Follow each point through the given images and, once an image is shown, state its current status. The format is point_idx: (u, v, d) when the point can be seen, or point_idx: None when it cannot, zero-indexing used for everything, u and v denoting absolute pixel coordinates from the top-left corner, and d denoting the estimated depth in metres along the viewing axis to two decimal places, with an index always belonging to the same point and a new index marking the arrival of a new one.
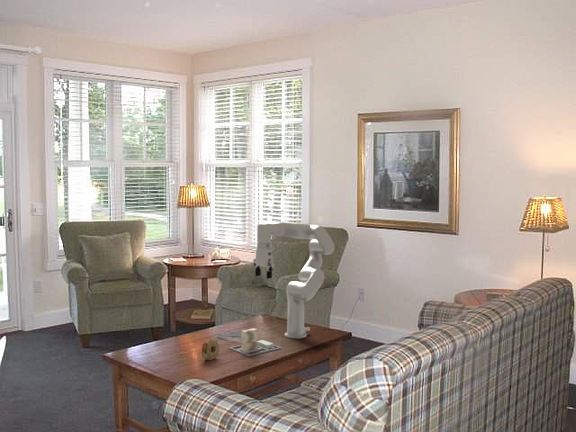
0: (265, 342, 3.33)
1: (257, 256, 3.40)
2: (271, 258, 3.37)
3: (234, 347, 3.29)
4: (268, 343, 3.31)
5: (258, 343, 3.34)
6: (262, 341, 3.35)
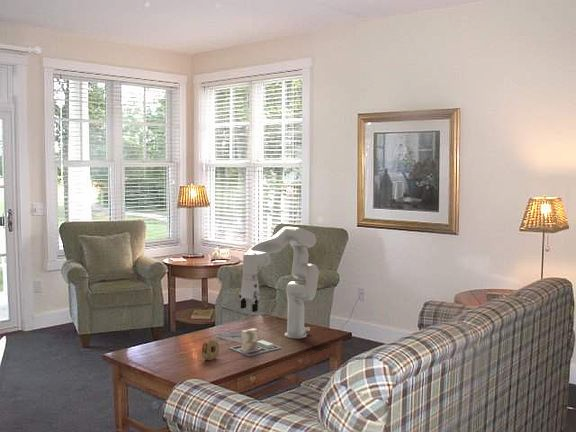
0: (265, 342, 3.33)
1: (242, 288, 3.24)
2: (257, 290, 3.20)
3: (234, 347, 3.29)
4: (269, 343, 3.31)
5: (258, 343, 3.34)
6: (262, 341, 3.35)
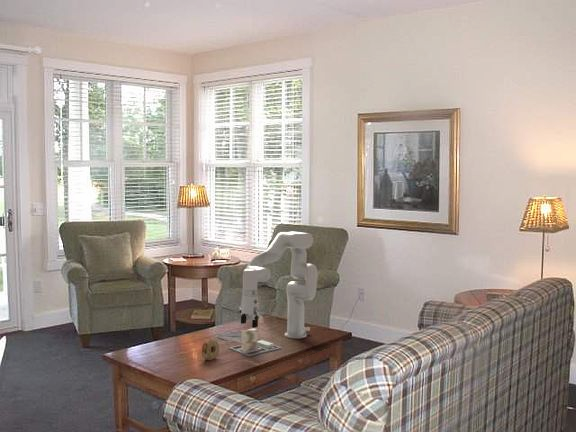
0: (265, 342, 3.33)
1: (243, 303, 3.25)
2: (257, 306, 3.21)
3: (234, 347, 3.29)
4: (268, 343, 3.31)
5: (258, 343, 3.34)
6: (262, 341, 3.35)
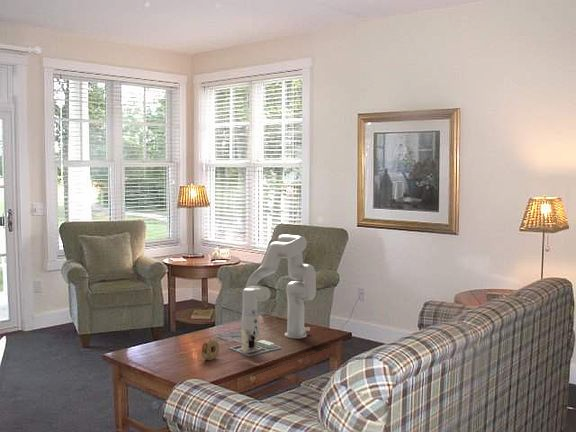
0: (266, 342, 3.34)
1: (243, 323, 3.26)
2: (257, 325, 3.22)
3: (234, 347, 3.29)
4: (269, 343, 3.32)
5: (259, 343, 3.34)
6: (263, 341, 3.35)
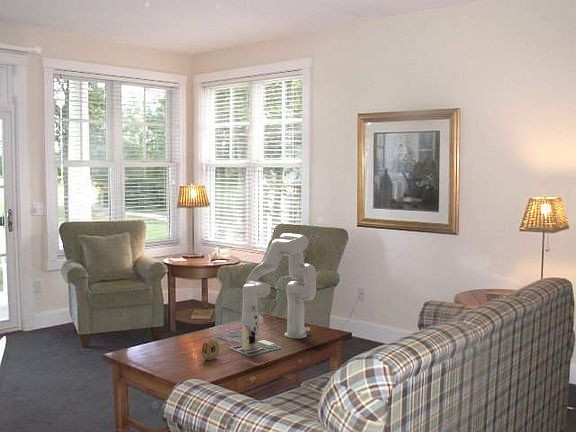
0: (266, 342, 3.33)
1: (243, 319, 3.26)
2: (257, 321, 3.22)
3: (234, 347, 3.29)
4: (270, 343, 3.31)
5: (259, 343, 3.34)
6: (264, 341, 3.35)
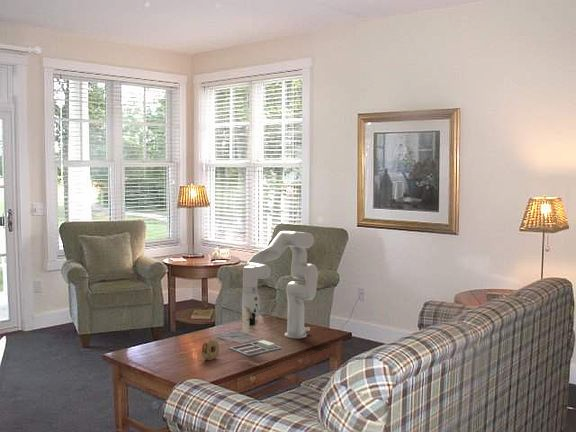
0: (266, 342, 3.34)
1: (243, 300, 3.25)
2: (258, 303, 3.21)
3: (234, 347, 3.29)
4: (270, 343, 3.31)
5: (259, 343, 3.34)
6: (263, 341, 3.35)
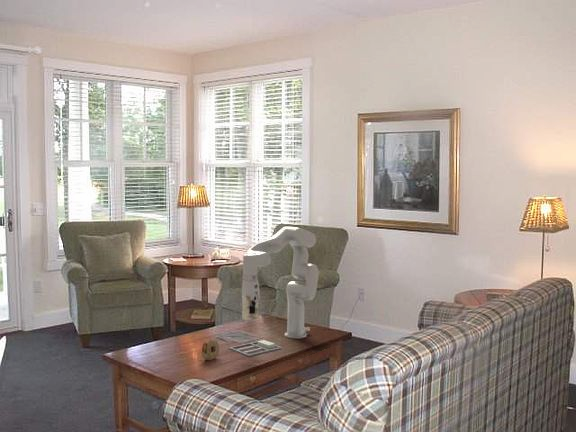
0: (266, 342, 3.34)
1: (243, 288, 3.24)
2: (258, 291, 3.21)
3: (234, 347, 3.29)
4: (270, 343, 3.31)
5: (259, 343, 3.34)
6: (263, 341, 3.35)
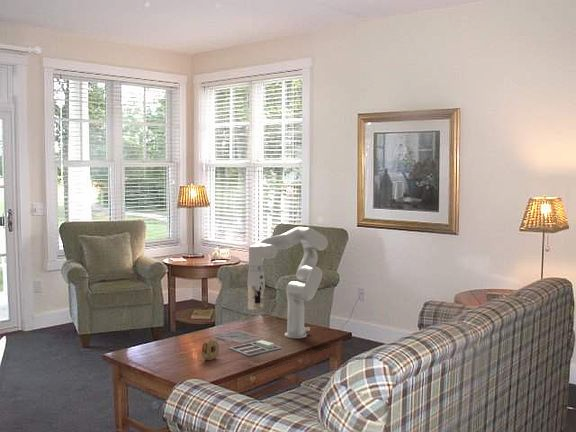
0: (265, 342, 3.33)
1: (249, 279, 3.35)
2: (263, 281, 3.32)
3: (234, 347, 3.29)
4: (269, 343, 3.31)
5: (258, 343, 3.33)
6: (262, 341, 3.35)
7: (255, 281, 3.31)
